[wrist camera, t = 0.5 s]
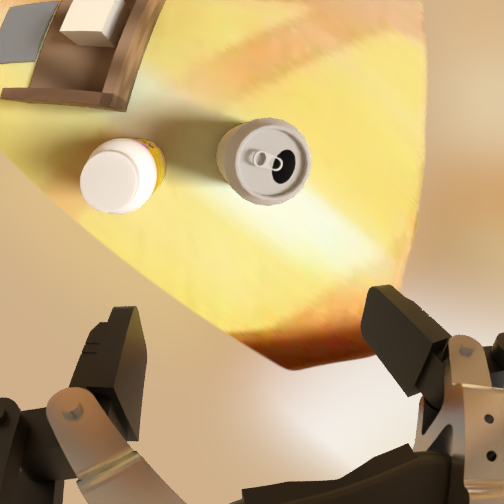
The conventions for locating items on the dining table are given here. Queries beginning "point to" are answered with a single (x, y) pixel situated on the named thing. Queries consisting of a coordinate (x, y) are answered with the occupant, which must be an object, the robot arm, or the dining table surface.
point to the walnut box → (90, 64)
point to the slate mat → (24, 31)
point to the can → (264, 160)
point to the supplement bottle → (122, 175)
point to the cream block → (95, 22)
